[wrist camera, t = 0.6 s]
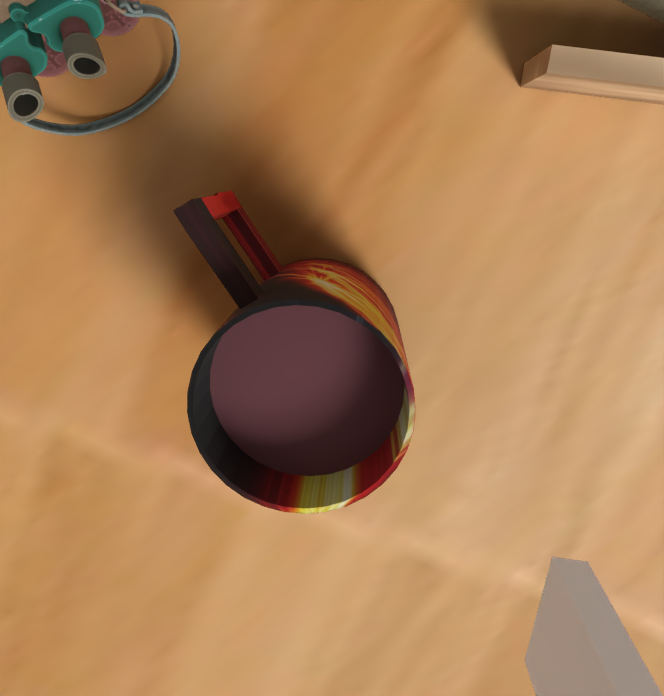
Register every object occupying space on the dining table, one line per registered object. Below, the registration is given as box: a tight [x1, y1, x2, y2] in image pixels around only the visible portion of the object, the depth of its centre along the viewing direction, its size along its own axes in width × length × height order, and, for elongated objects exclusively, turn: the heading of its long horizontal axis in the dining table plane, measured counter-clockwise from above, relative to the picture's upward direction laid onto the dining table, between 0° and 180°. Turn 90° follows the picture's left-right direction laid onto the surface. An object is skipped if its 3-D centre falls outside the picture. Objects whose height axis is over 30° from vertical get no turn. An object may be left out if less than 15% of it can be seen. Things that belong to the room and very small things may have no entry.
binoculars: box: [0, 0, 180, 136], centre depth 30 cm, size 9×9×10 cm
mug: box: [174, 191, 416, 514], centre depth 32 cm, size 10×14×12 cm
